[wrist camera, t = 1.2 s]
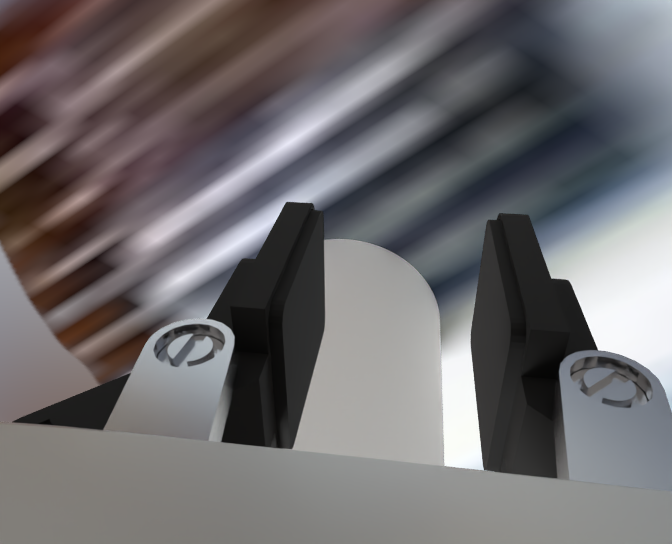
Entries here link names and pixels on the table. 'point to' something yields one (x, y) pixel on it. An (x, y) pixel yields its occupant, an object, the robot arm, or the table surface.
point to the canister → (375, 361)
